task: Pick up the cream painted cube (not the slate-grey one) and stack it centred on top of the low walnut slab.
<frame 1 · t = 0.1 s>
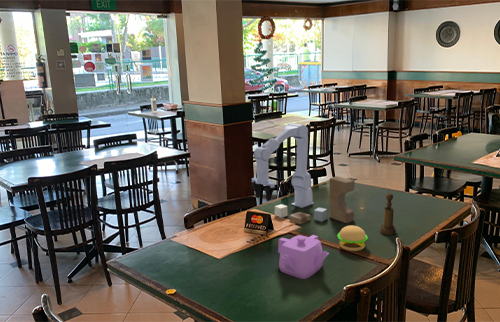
hand: (263, 198, 204), 10 cm above the table, fingers open, 7 cm apart
decorative block: (341, 219, 201), on the table
hamburger: (352, 247, 172), on the table
dark brown tall piece: (387, 232, 185), on the table
walnut slab: (300, 221, 202), on the table
cream block: (281, 215, 209), on the table
slate block: (320, 219, 202), on the table
teakettle: (301, 269, 155), on the table
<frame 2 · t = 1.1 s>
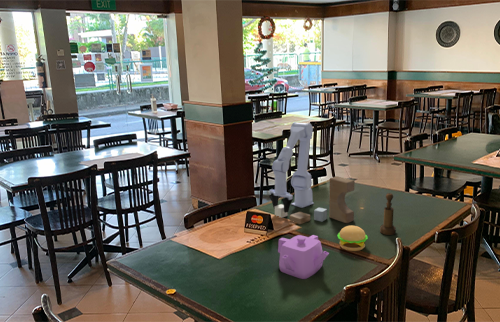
hand: (281, 210, 208), 3 cm above the table, fingers open, 7 cm apart
nothing on the table moved.
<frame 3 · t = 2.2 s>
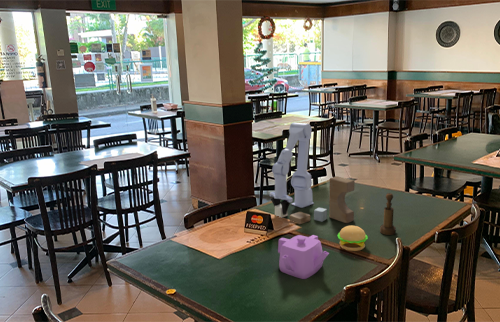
hand: (281, 212, 209), 1 cm above the table, fingers closed on cream block, 4 cm apart
cream block: (281, 215, 209), on the table, touching gripper
everything else where it was.
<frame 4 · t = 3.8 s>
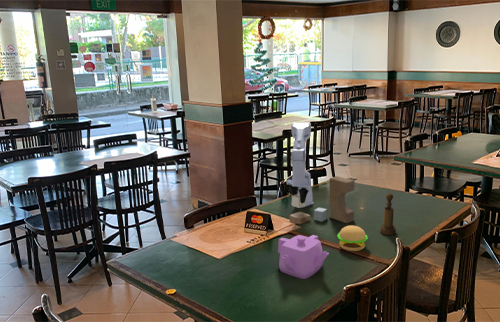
hand: (298, 201, 200), 9 cm above the table, fingers closed on cream block, 4 cm apart
cream block: (298, 205, 200), point 7 cm above the table, touching gripper
everything else where it was.
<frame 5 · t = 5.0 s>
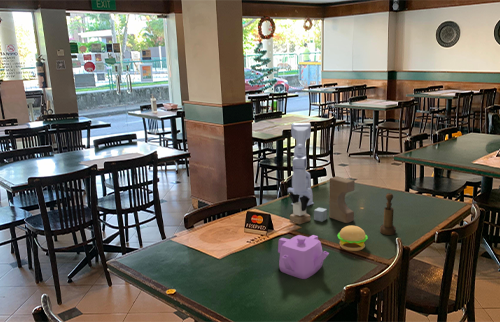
hand: (299, 209, 201), 6 cm above the table, fingers closed on cream block, 4 cm apart
cream block: (299, 213, 201), point 4 cm above the table, touching gripper
everything else where it was.
when the fingers open (6 cm above the table, at t = 5.4 s): cream block moves 1 cm, point 3 cm above the table.
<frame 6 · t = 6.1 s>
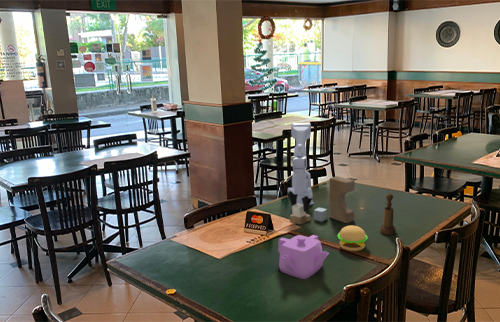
hand: (299, 209, 201), 6 cm above the table, fingers open, 7 cm apart
cream block: (299, 215, 201), point 3 cm above the table
everything else where it was.
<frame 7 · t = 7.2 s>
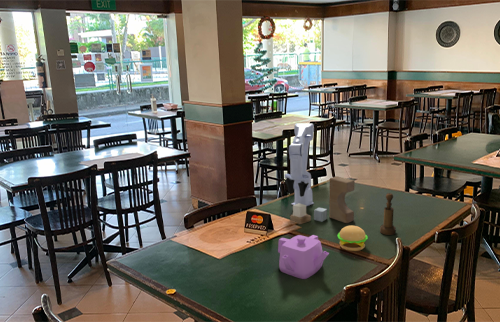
hand: (296, 194, 207), 10 cm above the table, fingers open, 7 cm apart
walnut slab: (300, 221, 202), on the table, touching cream block
cream block: (299, 215, 201), point 3 cm above the table, touching walnut slab
everything else where it was.
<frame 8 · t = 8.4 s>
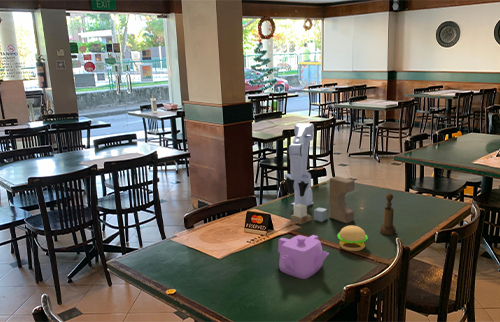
hand: (296, 194, 207), 10 cm above the table, fingers open, 7 cm apart
nothing on the table moved.
at the end: cream block 0.4 cm off-centre on the walnut slab, point 3.0 cm above the walnut slab's base; cream block tilted 1°; the gripper is holding nothing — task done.
